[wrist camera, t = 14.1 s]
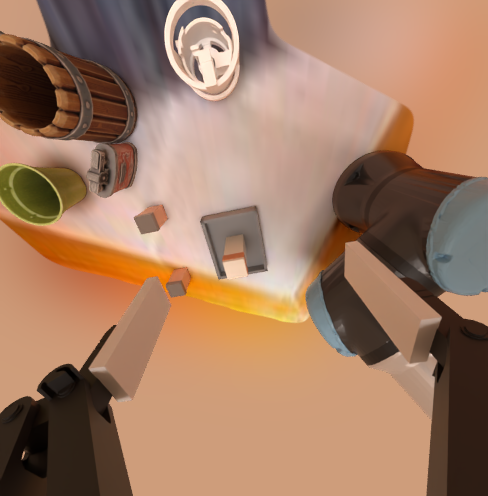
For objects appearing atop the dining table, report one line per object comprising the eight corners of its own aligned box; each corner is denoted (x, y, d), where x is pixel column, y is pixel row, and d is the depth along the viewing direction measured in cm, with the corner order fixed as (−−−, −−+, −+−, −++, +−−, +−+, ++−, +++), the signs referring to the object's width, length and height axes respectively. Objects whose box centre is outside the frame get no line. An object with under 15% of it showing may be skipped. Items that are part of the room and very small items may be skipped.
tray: (255, 206, 42) (256, 210, 40) (266, 264, 48) (267, 270, 46) (202, 216, 43) (200, 221, 41) (219, 272, 49) (218, 279, 47)
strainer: (201, 110, 34) (177, 95, 21) (186, 55, 31) (147, -5, 18) (243, 99, 34) (246, 76, 21) (233, 41, 31) (227, -30, 17)
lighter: (133, 190, 40) (103, 205, 31) (114, 183, 40) (78, 197, 31) (140, 146, 37) (108, 150, 28) (120, 138, 36) (81, 139, 27)
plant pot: (38, 194, 40) (-9, 207, 33) (45, 146, 37) (-7, 149, 29) (90, 217, 43) (57, 235, 35) (101, 175, 39) (67, 185, 31)
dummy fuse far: (187, 266, 48) (180, 283, 43) (191, 278, 50) (185, 295, 45) (173, 269, 49) (165, 285, 43) (178, 280, 50) (171, 297, 45)
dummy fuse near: (162, 204, 41) (151, 214, 36) (168, 219, 43) (158, 230, 38) (147, 207, 42) (133, 217, 36) (153, 222, 43) (141, 234, 38)
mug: (151, 104, 34) (93, 85, 21) (119, 157, 37) (53, 169, 24) (50, 11, 29) (-112, -95, 16) (24, 82, 32) (-125, 45, 19)
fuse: (243, 233, 44) (244, 258, 35) (246, 249, 46) (248, 276, 37) (225, 237, 44) (221, 262, 36) (229, 252, 46) (227, 280, 37)
